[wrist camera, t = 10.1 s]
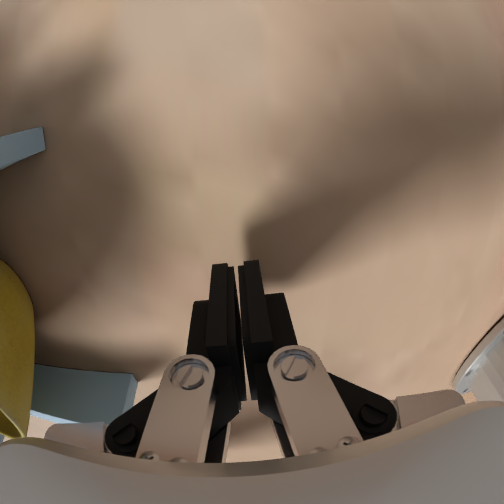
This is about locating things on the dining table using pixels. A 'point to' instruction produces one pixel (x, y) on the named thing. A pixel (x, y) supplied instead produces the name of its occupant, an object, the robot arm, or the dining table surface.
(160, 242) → the dining table surface
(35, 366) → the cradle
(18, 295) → the flower pot
